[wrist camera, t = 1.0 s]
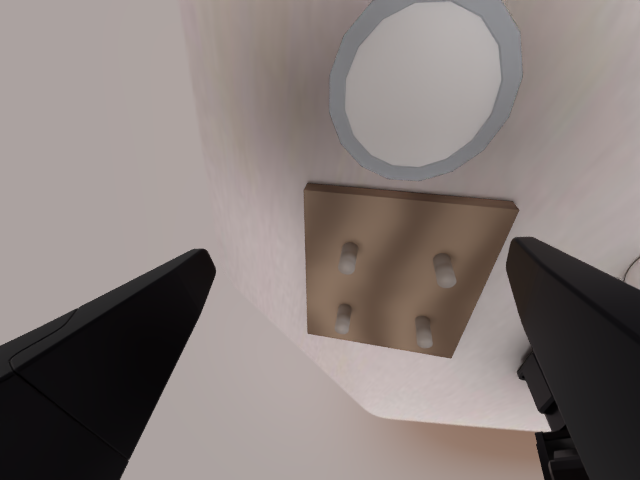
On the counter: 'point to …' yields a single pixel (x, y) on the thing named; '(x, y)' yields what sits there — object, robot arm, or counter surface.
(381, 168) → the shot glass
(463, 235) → the pin board
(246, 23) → the counter surface
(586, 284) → the robot arm
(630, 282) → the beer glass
